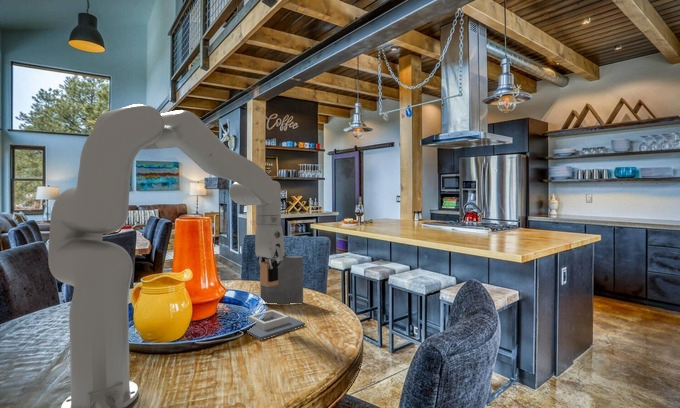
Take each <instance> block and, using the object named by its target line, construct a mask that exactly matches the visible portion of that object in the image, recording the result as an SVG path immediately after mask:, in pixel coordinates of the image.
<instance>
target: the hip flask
mask: <svg viewBox="0 0 680 408" xmlns="http://www.w3.org/2000/svg"><path fill="white" fill-rule="evenodd" d="M286 255H287V250H286V249H284V257H283V261H282V262H281V263H280V264H279V268H278V285H274V286H270V287H266V286H263V285H260V284H259V285H260V286H259V287H260V288H259V289H260V290H259V291H260V297H261V298H262V299H263V300H264V301H265V302H267V303H277V304H290V303H302V302H303V303H304V256H303V255H302V256H301V255H294V256H292V255H291V256H289V255H288V256H286ZM273 258H275V256H274V257H273ZM273 261H275V260H273Z"/></svg>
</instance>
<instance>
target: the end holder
mask: <svg viewBox="0 0 680 408" xmlns="http://www.w3.org/2000/svg"><path fill="white" fill-rule="evenodd" d="M265 313H266V316H265V318H264V320H260V319H258V318H257V317H259V316H261V315H263V314H265ZM247 318H248V322H254V321H258V322H257V323H256V325H255V326H253V327H252V328H250V329H249V330H247V333H248V334H247V333H246V334H247V335H249V334H250V335H252V336H254V337H256V338H257V339H256V338H255V339H256V340H258V339H259V340H261V339H264V338H267V339H269V338H268V337H270V338H272V337H271V336H273V335H276V336H278V335H277V334H279V335H282V334H285V333H284V332H286V333H288V332H287V331H289V330H292V329H295V328H298V327H301V326H304V325H305V326H306V322H304V321H302V320H299V319H297V318H294V317H291V316H290V315H287V314H284V313H282V312H280V311H278V310H275V309H270V310H267V311H262V312H259V313H255V314H251V315H248V317H247ZM305 326H304V327H305ZM301 328H302V327H301ZM298 329H299V328H298ZM295 330H296V329H295ZM292 331H293V330H292ZM289 332H290V331H289ZM281 333H282V334H281ZM250 335H249V336H250ZM252 336H251V337H252ZM254 337H253V338H254ZM273 337H274V336H273ZM259 340H258V341H259ZM264 340H265V339H264ZM261 341H262V340H261Z"/></svg>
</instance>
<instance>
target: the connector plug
mask: <svg viewBox="0 0 680 408" xmlns="http://www.w3.org/2000/svg"><path fill="white" fill-rule="evenodd" d="M272 262H274V261H273V260H272ZM268 269H270V267H269V259H268V258H266V259H265V261H264V262H260V266H259V285H263V286H266V287H270V286H274V285H278V280H277V281H273V282H269V281H268Z"/></svg>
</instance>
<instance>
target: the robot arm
mask: <svg viewBox="0 0 680 408" xmlns="http://www.w3.org/2000/svg"><path fill="white" fill-rule="evenodd" d="M171 148H172V149H173V148H174V149H175V148H177V149H179V150H180V151H181V152H182V153H183V154H185V155H186V156H187V157H188V158H189V159H190V160H192V161H193V162H194V164H196V165H197V166H198V167H199V168H200V169H202V170H203V172H205V173H206V174H209V175H211V176H213V177H216V178H220V179H224V180H228V181H231V182H233V183H232V184H231V185H230V186H229V191H228V192H229V198H230V200H232V201H233V202H234V203H235V204H237V205H241V206H255V226H256V228H255V237H254V238H255V239H254V251H255V254H254V255H255V256H256V258H257V260H258V266H259V267H260V262H264V261H265V259H266V258H268V259H269V267H270V269H268V281H269V282H273V281H277V280H278V268H279V264H280V263H281V262H282V261H283V257H284V250H285V239H284V231H283V227H282V226H283V225H281V224H282V219H281V218H282V217H281V215H282V214H281V212H282V211H281V210H282V209H281V208H282V206H281V197H282V196H281V184H280V182H279V181H277V180H273V179H272V178H271V177H270V175H269V174H268V173H267V172H266V171H265V170H264V168H262V167H261V166H259V165H258V164H256V163H255V162H254V161H252V160H251V159H248V158H247V157H245V156H243V155H241V154H239V153H237V152H236V151H233V150H231V149H230V148H229V147H228V146H227V145H225V143H224V142H223V141H222V140H221V139H220V138H219V137H218V136H217V135H216V133H214V132H213V131H212V130H211V129H210V128H209V127H208V126H207V125H206V124H205V122H203V121H202V119H201V118H199V116H198V115H196V114H195V113H194V112H192V111H189V110H185V109H184V110H183V109H180V110H173V111H168V112H164V113H161V112H160V111H159V110H158V109H157V108H155V107H153V106H151V105H148V104H140V103H138V104H132V105H128V106H124V107H120V108H117V109H112V110H109V111H106V112H104V113H101V114H100V115H99V116H98V117H97V118H96V119H95V122H94V125H93V130H92V131H91V132H90V133H89V135H88V137H86V140H85V141H84V144H83V146H82V150H81V153H80V159H79V167H78V173H77V183H76V186H72V187H71V188H67V189H66V190H64V191H62V192H61V193H60V194H59V195H58V196H57V197H56V199H55V201H54V203H53V205H52V209H51V213H50V222H49V234H48V235H49V237H48V238H49V239H48V254H47V258H48V263H47V264H48V268H49V271H50V273H51V275H52V276H53V277H54V279H56V280H57V281H59V282H61V283H62V284H65V285H67V286H68V285H69V286H72V287H73V293H72V299H71V302H70V307H69V316H68V317H69V318H68V322H69V323H68V328H69V352H70V353H69V359H70V360H69V363H70V395H69V396H68V397H67V398H66V399H65V400H64V401H63V402H62V404H61V406H60V408H127V407H128V406H129V405H131V404H132V403H133V402H134V401H135V400H136V399H137V397H139V386H138V384H137V383H136V382H133V380H130V330H129V329H130V327H129V326H130V325H129V297H130V296H129V295H130V288H131V282H132V277H133V270H134V269H133V267H134V266H133V261H132V257H131V256H130V254H129V252H128V251H127V249H125V248H124V247H123V246H121V245H120V244H117V243H116V242H115V243H114V242H111V241H106V240H105V241H104V240H103V235H107V234H112V233H113V234H114V233H115V232H118V231H120V229H122V228H123V227H124V226H125V224H126V222H127V220H128V218H129V203H130V185H131V174H132V168H133V164H134V162H135V158H136V157H137V156H138V154H139V153H140V151H143V150H144V151H145V150H160V149H171ZM274 256H275V258H273V257H274ZM272 260H275V261H274V262H272Z"/></svg>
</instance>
